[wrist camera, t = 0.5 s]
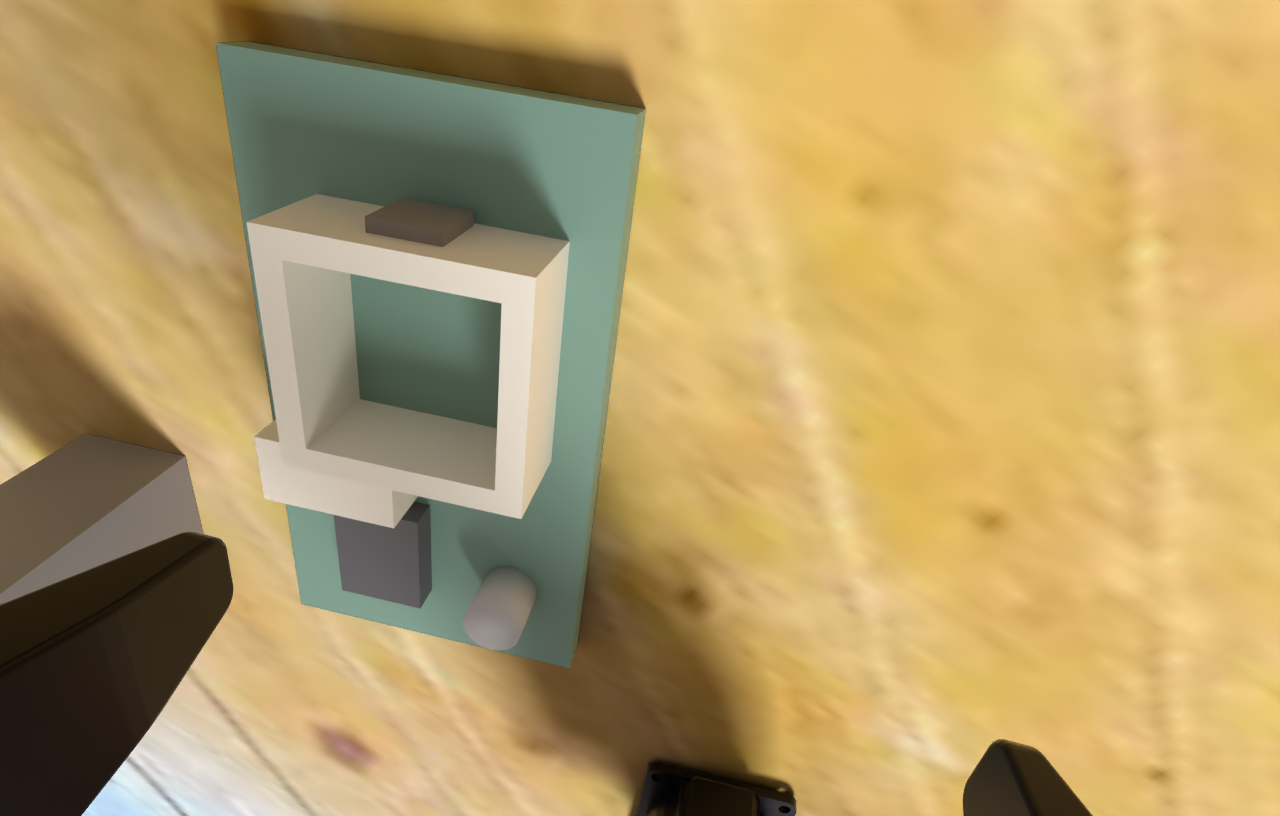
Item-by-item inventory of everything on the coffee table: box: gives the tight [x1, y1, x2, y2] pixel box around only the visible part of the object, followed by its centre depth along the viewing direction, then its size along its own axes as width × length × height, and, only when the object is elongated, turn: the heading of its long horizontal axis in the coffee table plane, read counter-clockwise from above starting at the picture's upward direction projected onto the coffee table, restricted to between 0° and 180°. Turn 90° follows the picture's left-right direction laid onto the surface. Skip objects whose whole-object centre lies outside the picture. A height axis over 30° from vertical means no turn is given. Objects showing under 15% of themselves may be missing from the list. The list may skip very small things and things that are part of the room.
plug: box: [0, 433, 203, 604], centre depth 25 cm, size 4×4×9 cm
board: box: [216, 41, 646, 669], centre depth 22 cm, size 20×11×4 cm, turn 172°
